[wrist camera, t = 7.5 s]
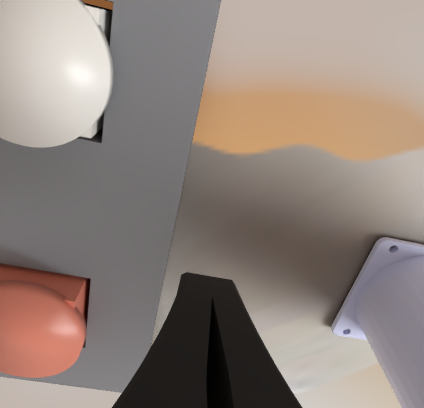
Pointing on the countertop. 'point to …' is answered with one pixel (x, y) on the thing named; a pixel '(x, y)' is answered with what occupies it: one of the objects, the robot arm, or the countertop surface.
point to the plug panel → (115, 186)
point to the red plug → (41, 321)
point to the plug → (53, 70)
